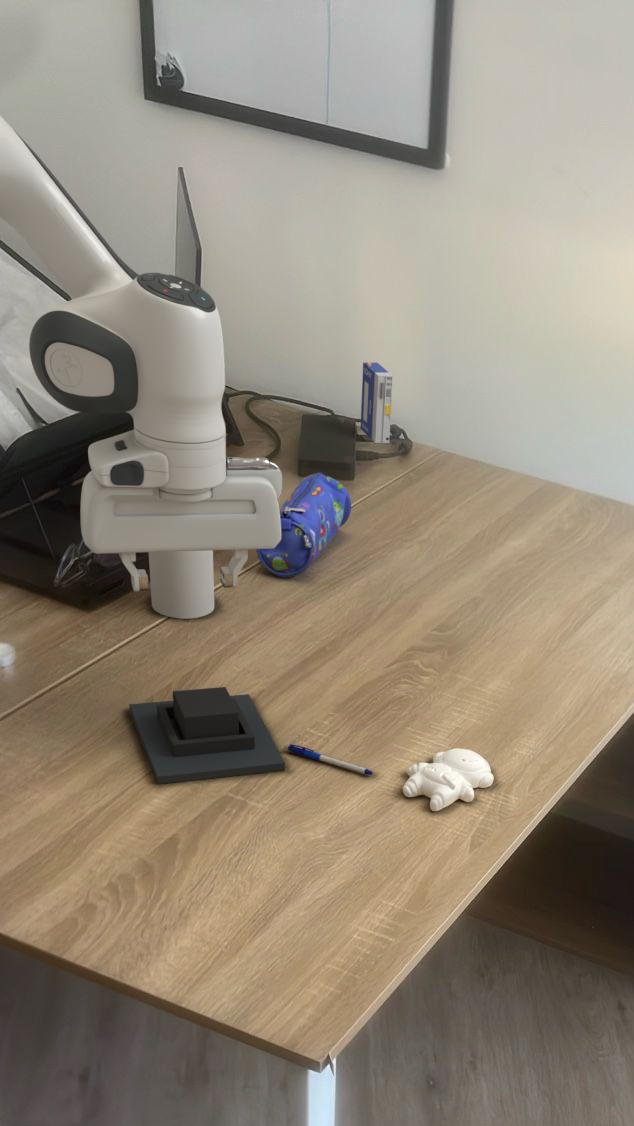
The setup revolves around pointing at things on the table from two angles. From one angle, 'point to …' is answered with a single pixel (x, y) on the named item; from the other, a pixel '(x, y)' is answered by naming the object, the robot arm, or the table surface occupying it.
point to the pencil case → (307, 524)
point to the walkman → (376, 402)
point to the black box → (205, 713)
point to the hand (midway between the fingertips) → (185, 587)
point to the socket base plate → (205, 745)
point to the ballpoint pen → (327, 759)
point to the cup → (182, 583)
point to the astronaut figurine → (448, 777)
